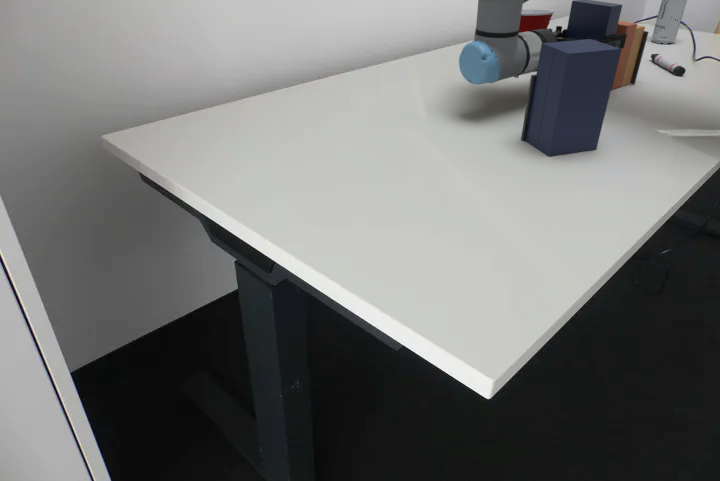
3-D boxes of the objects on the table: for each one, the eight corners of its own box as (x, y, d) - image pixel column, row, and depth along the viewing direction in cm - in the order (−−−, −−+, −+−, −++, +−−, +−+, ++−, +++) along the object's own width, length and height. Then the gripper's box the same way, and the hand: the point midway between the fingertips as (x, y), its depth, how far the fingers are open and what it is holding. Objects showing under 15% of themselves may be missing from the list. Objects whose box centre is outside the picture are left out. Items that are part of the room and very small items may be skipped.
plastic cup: (528, 52, 143) (535, 4, 137) (555, 62, 135) (564, 11, 128) (493, 57, 140) (499, 7, 133) (519, 67, 131) (527, 14, 125)
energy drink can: (647, 39, 155) (662, -18, 147) (668, 39, 155) (684, -18, 147) (656, 44, 150) (673, -15, 142) (678, 44, 150) (696, -15, 142)
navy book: (593, 89, 111) (611, 6, 103) (557, 79, 118) (572, 0, 109) (603, 86, 113) (622, 4, 104) (567, 77, 119) (583, -1, 111)
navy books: (599, 149, 88) (624, 48, 80) (546, 156, 86) (566, 53, 77) (570, 132, 95) (590, 37, 86) (520, 139, 92) (536, 42, 84)
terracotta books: (613, 90, 115) (629, 26, 108) (574, 79, 122) (587, 18, 115) (634, 84, 119) (651, 21, 112) (595, 74, 126) (608, 14, 119)
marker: (684, 76, 124) (686, 67, 123) (675, 76, 124) (678, 67, 123) (654, 59, 137) (656, 51, 135) (646, 59, 137) (648, 51, 135)
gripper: (485, 60, 112) (556, 45, 122) (573, 85, 97) (646, 65, 107) (490, 22, 108) (563, 10, 118) (582, 41, 92) (657, 25, 103)
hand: (602, 36), depth 113 cm, fingers closed on navy book, 9 cm apart
